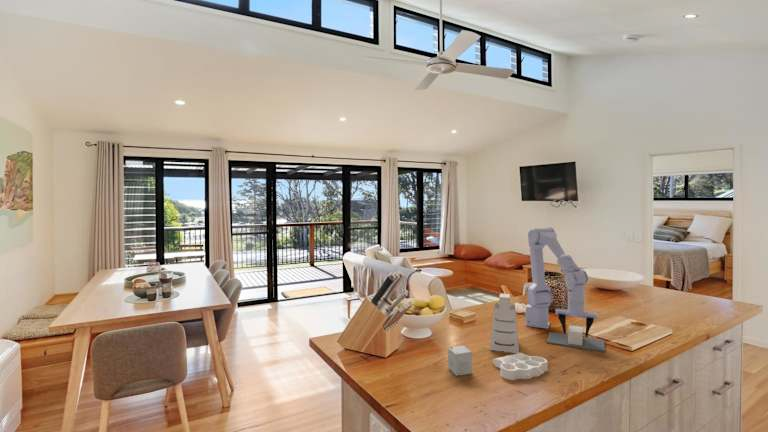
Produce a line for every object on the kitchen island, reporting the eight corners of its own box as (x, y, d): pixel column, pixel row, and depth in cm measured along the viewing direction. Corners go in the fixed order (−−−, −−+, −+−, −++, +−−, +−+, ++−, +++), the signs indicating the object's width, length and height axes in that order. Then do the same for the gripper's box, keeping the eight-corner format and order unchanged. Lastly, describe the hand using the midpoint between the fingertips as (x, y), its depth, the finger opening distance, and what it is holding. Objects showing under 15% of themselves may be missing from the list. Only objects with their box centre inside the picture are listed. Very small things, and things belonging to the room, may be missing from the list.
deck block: (568, 335, 157) (569, 325, 157) (582, 338, 155) (582, 327, 154) (567, 343, 149) (567, 332, 149) (582, 345, 147) (582, 334, 146)
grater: (518, 343, 152) (519, 293, 151) (518, 353, 142) (519, 300, 141) (491, 340, 155) (491, 291, 154) (489, 350, 145) (489, 298, 144)
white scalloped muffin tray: (524, 357, 139) (558, 374, 125) (484, 367, 131) (515, 386, 118) (524, 348, 139) (558, 364, 125) (484, 357, 131) (515, 375, 118)
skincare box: (472, 373, 126) (472, 351, 126) (455, 376, 124) (455, 354, 124) (463, 366, 132) (463, 345, 132) (447, 368, 130) (447, 347, 130)
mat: (546, 343, 151) (546, 341, 151) (549, 333, 162) (549, 331, 162) (604, 352, 142) (604, 350, 142) (604, 341, 152) (604, 339, 152)
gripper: (554, 301, 151) (554, 335, 152) (597, 305, 144) (596, 341, 145) (556, 296, 157) (556, 329, 158) (596, 301, 150) (596, 335, 151)
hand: (575, 334), depth 152 cm, fingers open, 7 cm apart
